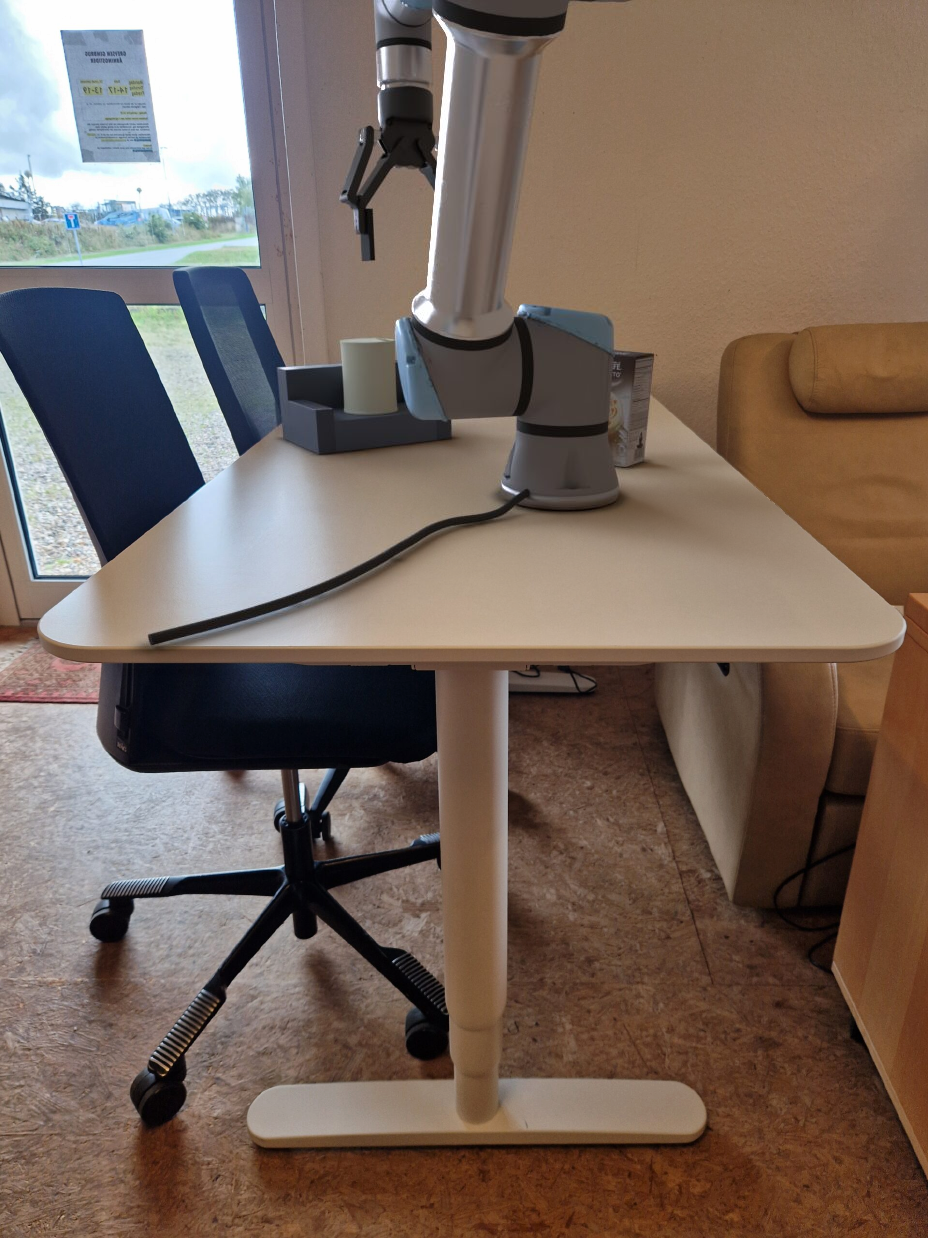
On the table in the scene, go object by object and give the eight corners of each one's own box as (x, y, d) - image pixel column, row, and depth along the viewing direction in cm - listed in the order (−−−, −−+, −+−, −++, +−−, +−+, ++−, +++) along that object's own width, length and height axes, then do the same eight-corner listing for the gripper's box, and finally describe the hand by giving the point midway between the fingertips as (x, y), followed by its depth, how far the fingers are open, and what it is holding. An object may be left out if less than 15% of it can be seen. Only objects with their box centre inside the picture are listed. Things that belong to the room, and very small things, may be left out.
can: (384, 416, 135) (381, 339, 130) (334, 413, 137) (329, 338, 133) (406, 407, 143) (403, 335, 138) (358, 405, 145) (354, 334, 141)
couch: (451, 438, 143) (451, 367, 139) (318, 454, 131) (313, 377, 126) (408, 424, 156) (406, 358, 151) (283, 438, 144) (276, 367, 139)
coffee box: (573, 459, 127) (579, 351, 121) (595, 452, 132) (601, 348, 125) (626, 468, 122) (635, 355, 115) (646, 460, 126) (656, 351, 120)
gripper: (467, 104, 120) (468, 262, 128) (308, 84, 107) (320, 261, 115) (496, 94, 114) (495, 261, 122) (331, 72, 101) (342, 259, 109)
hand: (410, 261), depth 118 cm, fingers open, 13 cm apart
